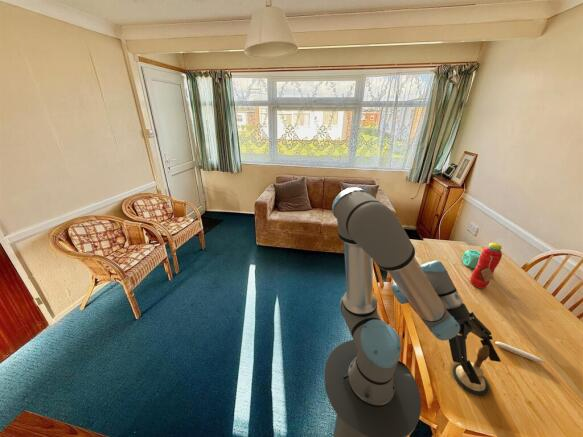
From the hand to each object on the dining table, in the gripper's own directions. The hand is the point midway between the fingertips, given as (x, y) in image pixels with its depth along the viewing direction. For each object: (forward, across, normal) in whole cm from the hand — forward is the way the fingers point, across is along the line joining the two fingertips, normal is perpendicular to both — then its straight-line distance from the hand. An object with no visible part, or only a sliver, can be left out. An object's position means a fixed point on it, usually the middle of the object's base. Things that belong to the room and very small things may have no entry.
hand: (486, 371), depth 73 cm
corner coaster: (+4, 0, +7) cm, 8 cm away
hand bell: (+3, 0, +7) cm, 8 cm away
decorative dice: (-19, +69, +24) cm, 76 cm away
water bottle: (-11, +54, +22) cm, 59 cm away
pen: (+7, +26, +4) cm, 27 cm away
